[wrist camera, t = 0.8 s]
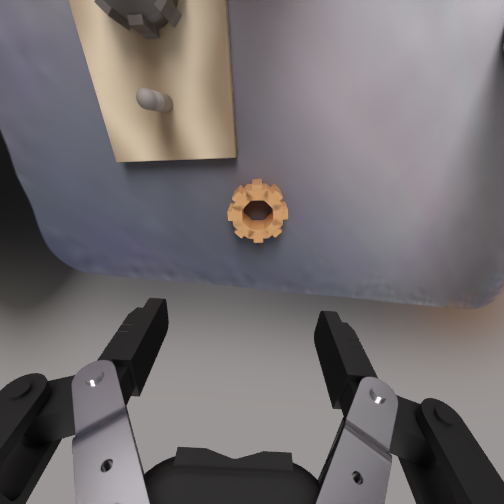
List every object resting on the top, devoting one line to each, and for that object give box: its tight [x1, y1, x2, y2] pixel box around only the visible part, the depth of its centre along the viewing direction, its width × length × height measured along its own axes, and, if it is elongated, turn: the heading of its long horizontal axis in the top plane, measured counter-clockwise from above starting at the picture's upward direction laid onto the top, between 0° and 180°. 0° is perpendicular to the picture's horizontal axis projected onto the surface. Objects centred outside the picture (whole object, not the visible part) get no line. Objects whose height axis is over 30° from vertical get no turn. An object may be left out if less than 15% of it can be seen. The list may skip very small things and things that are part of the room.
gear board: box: [69, 0, 237, 162], centre depth 17 cm, size 12×17×7 cm
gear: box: [227, 179, 288, 243], centre depth 25 cm, size 6×6×3 cm
